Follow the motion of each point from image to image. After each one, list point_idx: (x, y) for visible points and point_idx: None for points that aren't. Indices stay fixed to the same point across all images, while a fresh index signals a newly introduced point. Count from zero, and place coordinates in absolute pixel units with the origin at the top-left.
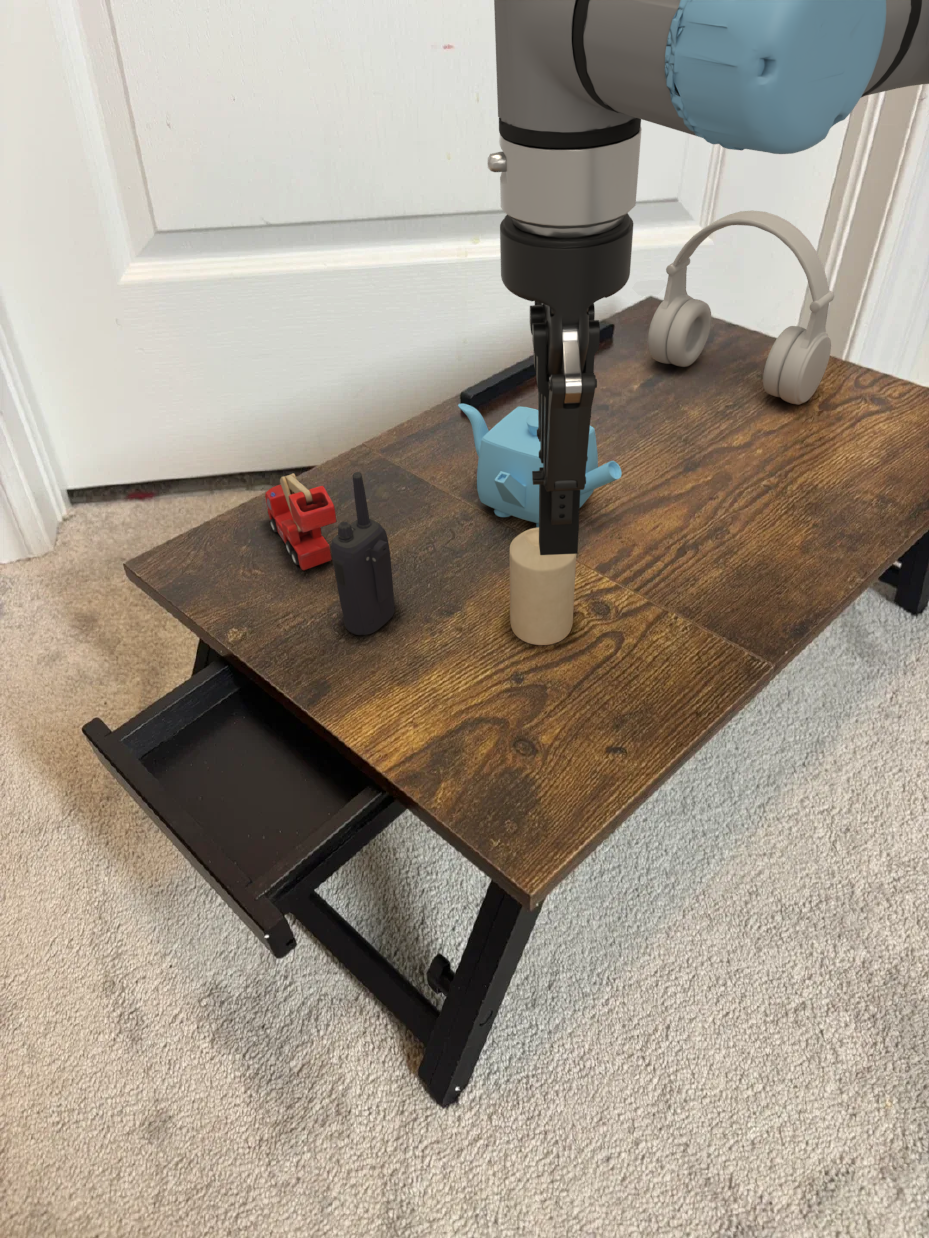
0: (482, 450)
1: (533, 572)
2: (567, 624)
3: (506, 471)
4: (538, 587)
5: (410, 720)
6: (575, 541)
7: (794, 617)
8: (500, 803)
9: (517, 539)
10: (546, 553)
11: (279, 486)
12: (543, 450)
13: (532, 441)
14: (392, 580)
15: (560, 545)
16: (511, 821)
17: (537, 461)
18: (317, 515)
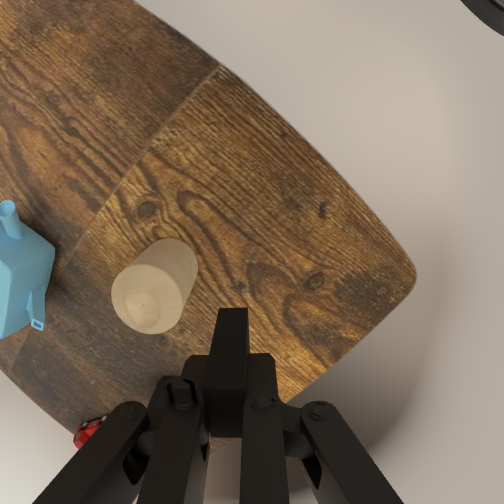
0: (8, 334)
1: (182, 310)
2: (183, 247)
3: (21, 311)
4: (186, 297)
5: (283, 360)
6: (247, 320)
7: (163, 38)
8: (364, 297)
9: (141, 330)
10: (249, 345)
11: (79, 448)
12: (207, 459)
13: None
14: (160, 394)
15: (248, 336)
16: (378, 290)
17: (12, 291)
18: None
